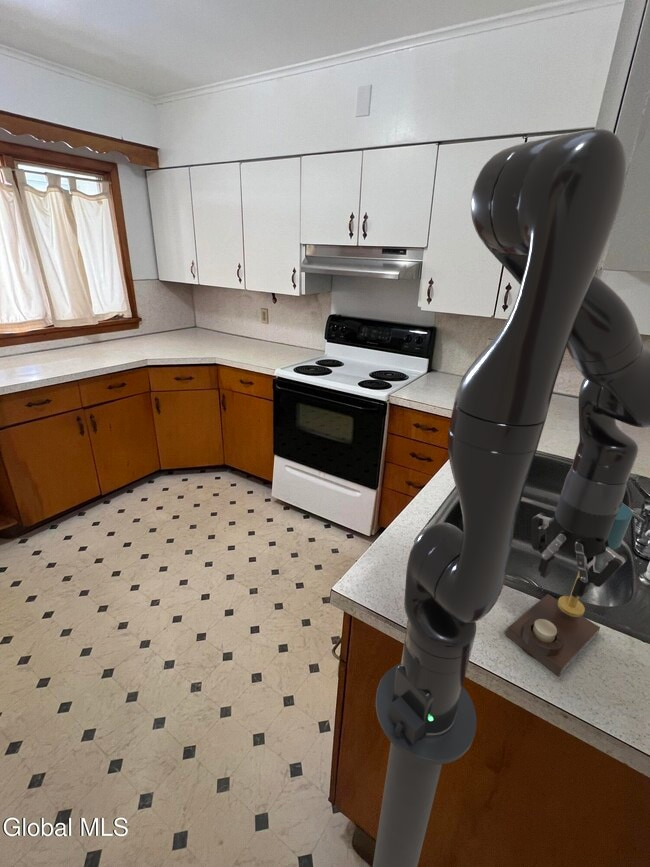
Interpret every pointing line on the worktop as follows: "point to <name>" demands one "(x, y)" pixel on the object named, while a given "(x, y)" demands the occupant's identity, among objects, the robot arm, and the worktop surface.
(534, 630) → the lamp switch
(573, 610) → the lamp
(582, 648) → the lamp base
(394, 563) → the worktop surface
